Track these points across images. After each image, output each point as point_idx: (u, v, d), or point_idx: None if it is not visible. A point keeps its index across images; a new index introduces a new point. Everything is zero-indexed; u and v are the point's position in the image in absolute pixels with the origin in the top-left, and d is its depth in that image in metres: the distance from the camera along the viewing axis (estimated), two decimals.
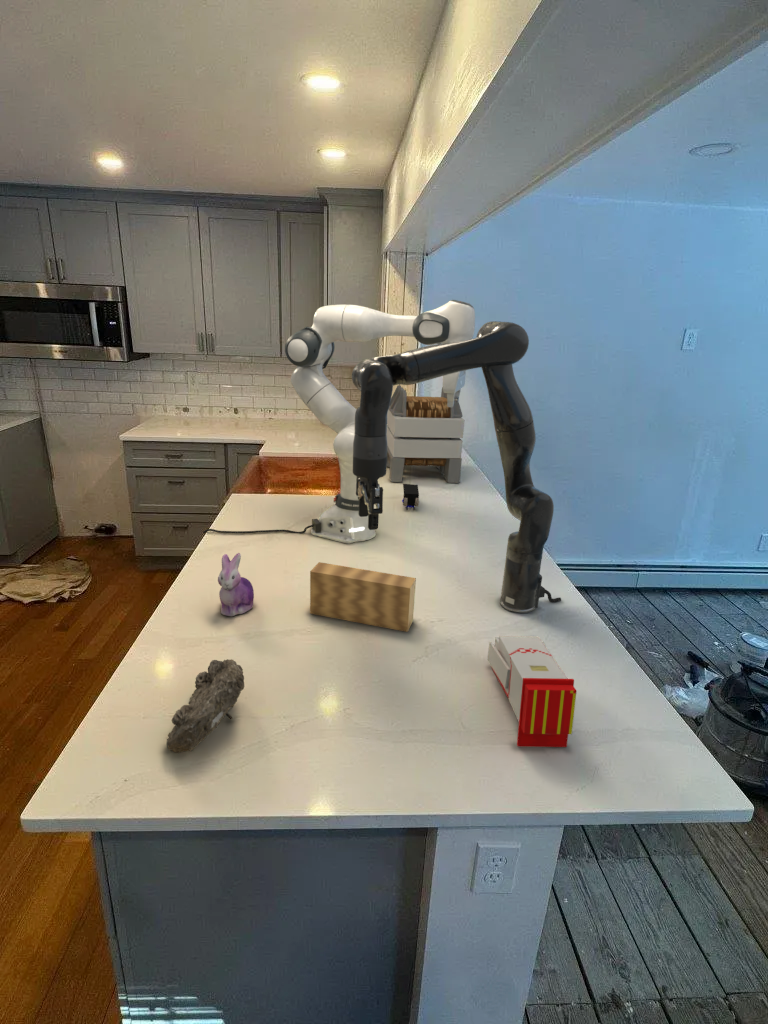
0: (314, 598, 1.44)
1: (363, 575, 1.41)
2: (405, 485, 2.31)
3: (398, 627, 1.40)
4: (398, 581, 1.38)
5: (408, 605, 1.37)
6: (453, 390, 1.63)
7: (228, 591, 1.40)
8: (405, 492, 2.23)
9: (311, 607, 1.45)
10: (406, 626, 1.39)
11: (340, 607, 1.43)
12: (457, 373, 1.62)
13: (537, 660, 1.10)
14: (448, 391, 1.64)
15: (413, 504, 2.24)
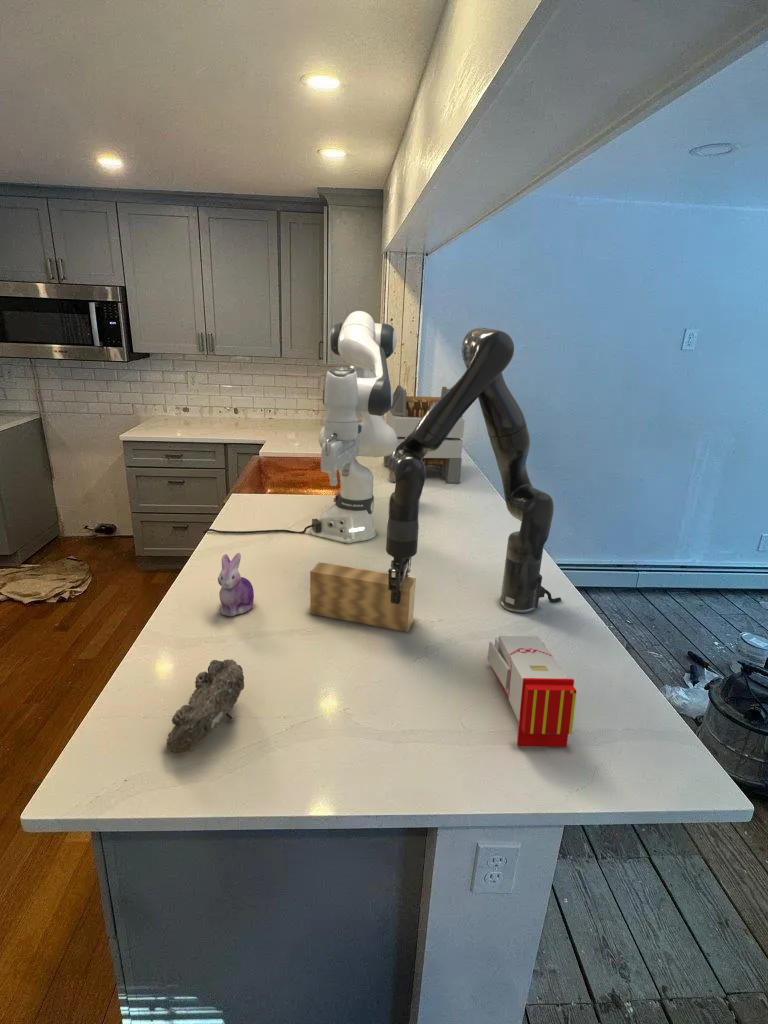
0: (314, 598, 1.44)
1: (363, 575, 1.41)
2: None
3: (398, 627, 1.40)
4: None
5: (408, 605, 1.37)
6: None
7: (228, 591, 1.40)
8: None
9: (311, 607, 1.45)
10: (406, 626, 1.39)
11: (340, 607, 1.43)
12: None
13: (537, 660, 1.10)
14: None
15: None
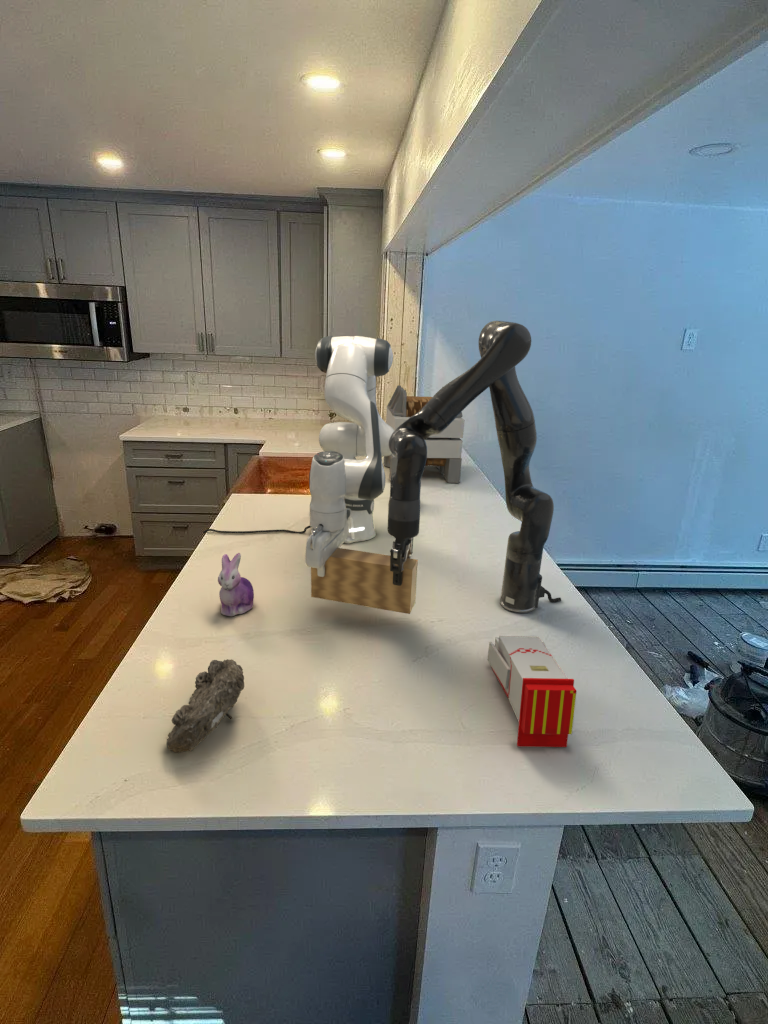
0: (315, 581, 1.42)
1: (364, 557, 1.39)
2: None
3: (400, 609, 1.38)
4: None
5: (410, 586, 1.35)
6: None
7: (228, 591, 1.40)
8: None
9: (312, 590, 1.43)
10: (408, 608, 1.37)
11: (341, 590, 1.41)
12: None
13: (537, 660, 1.10)
14: None
15: None
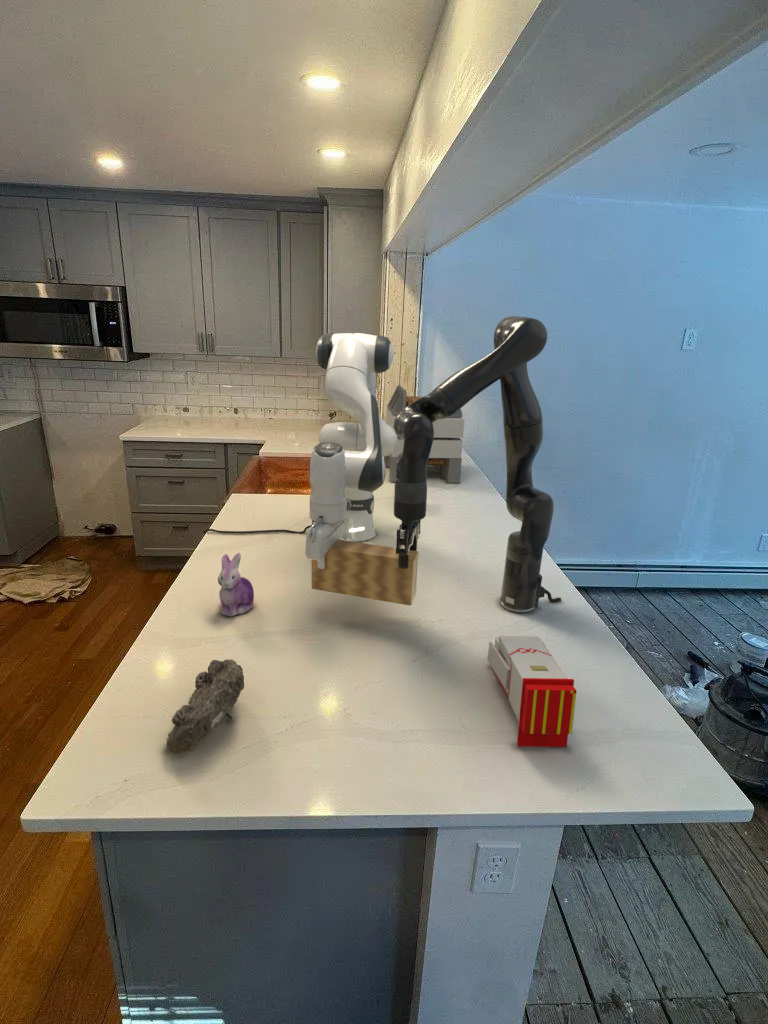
0: (316, 573, 1.42)
1: (365, 549, 1.39)
2: None
3: (401, 600, 1.38)
4: None
5: (411, 578, 1.35)
6: None
7: (228, 591, 1.40)
8: None
9: (312, 582, 1.43)
10: (409, 600, 1.37)
11: (342, 582, 1.41)
12: None
13: (537, 660, 1.10)
14: None
15: None
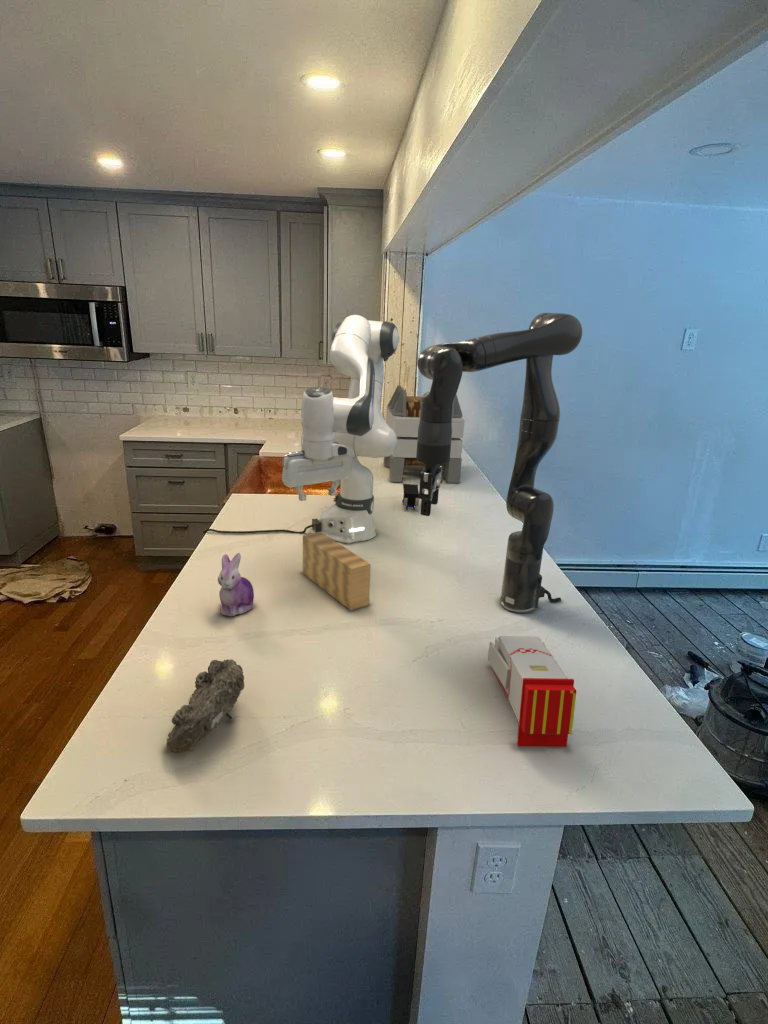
0: (304, 560, 1.65)
1: (333, 549, 1.55)
2: (405, 485, 2.31)
3: (345, 603, 1.50)
4: (351, 561, 1.48)
5: (351, 585, 1.46)
6: None
7: (228, 591, 1.40)
8: (405, 492, 2.23)
9: (303, 567, 1.67)
10: (350, 605, 1.48)
11: (316, 573, 1.60)
12: None
13: (537, 660, 1.10)
14: None
15: (413, 504, 2.24)
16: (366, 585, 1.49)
